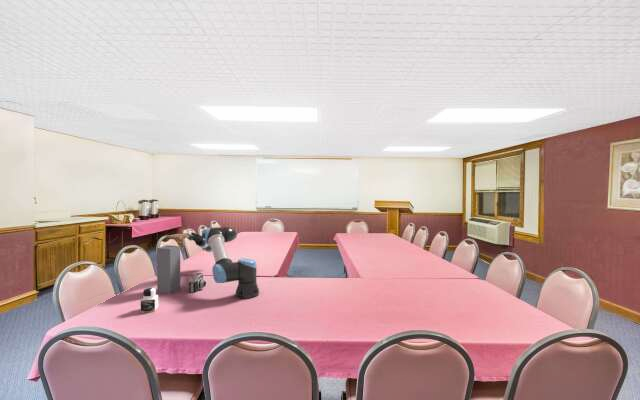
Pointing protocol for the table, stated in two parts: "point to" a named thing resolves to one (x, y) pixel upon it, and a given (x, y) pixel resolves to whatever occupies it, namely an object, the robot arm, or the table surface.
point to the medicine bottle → (149, 300)
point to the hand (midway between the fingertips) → (185, 231)
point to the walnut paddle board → (178, 236)
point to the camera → (196, 283)
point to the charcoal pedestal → (168, 269)
